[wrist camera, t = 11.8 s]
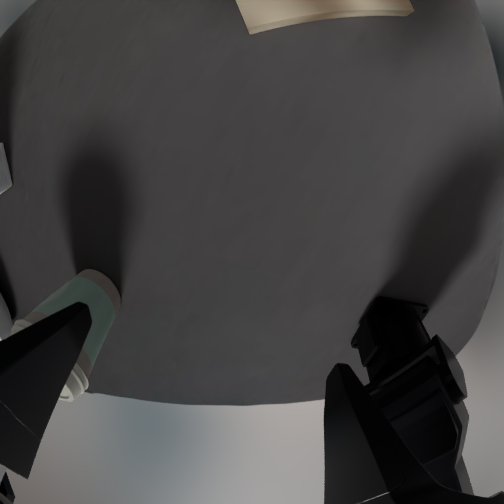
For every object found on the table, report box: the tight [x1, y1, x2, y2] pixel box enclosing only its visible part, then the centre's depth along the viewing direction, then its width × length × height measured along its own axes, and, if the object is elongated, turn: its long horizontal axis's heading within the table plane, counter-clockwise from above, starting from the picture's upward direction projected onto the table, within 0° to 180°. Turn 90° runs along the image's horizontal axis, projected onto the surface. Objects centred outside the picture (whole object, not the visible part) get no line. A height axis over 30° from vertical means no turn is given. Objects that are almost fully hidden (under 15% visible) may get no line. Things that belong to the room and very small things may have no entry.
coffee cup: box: [10, 269, 121, 402], centre depth 20 cm, size 8×8×12 cm
